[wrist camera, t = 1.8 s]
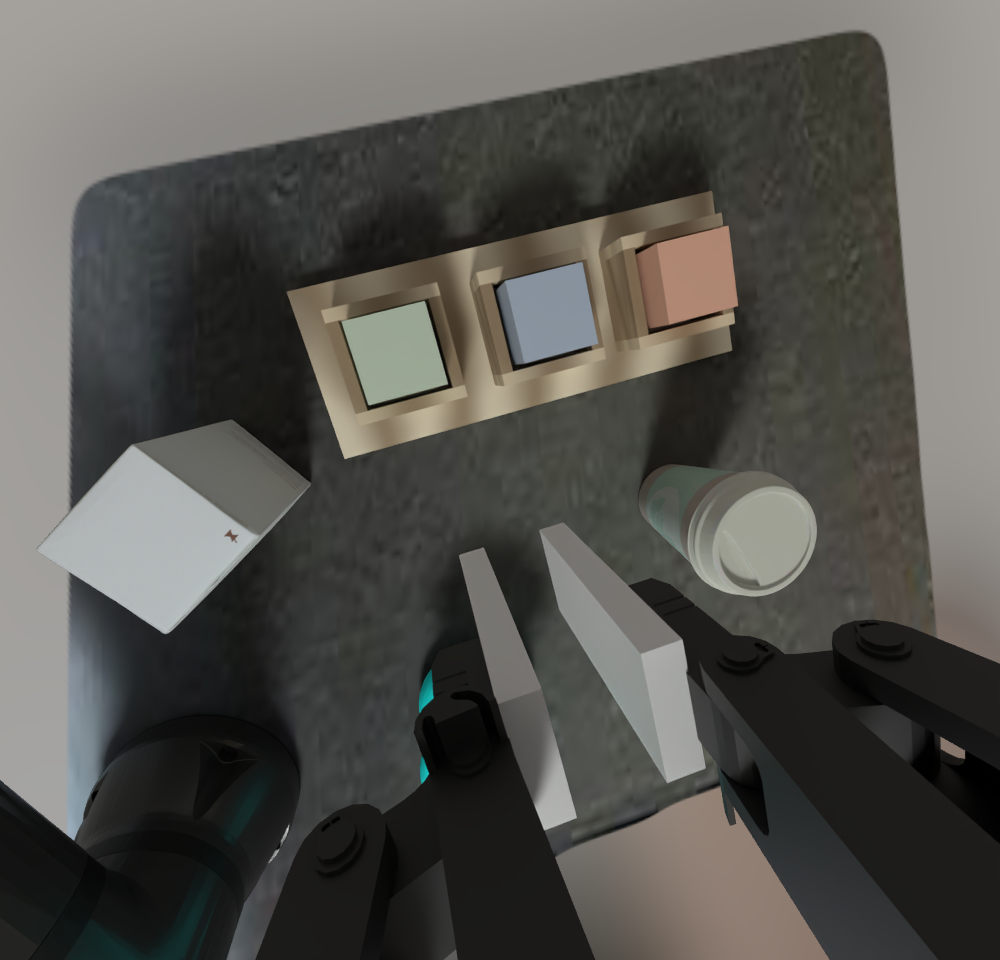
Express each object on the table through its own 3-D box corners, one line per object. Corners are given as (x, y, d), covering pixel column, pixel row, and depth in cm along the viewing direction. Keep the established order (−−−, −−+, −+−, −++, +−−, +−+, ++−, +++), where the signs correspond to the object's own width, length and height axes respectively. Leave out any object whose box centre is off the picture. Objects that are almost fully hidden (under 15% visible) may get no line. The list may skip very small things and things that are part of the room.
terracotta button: (641, 330, 35) (669, 324, 31) (629, 258, 34) (656, 243, 30) (702, 313, 36) (738, 305, 32) (693, 242, 34) (728, 225, 30)
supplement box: (232, 415, 34) (133, 437, 22) (314, 483, 36) (264, 537, 24) (162, 488, 35) (27, 550, 22) (248, 552, 37) (166, 640, 24)
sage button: (373, 402, 33) (368, 405, 29) (350, 328, 32) (341, 321, 28) (443, 383, 33) (447, 384, 30) (423, 309, 32) (424, 300, 28)
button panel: (346, 456, 36) (336, 469, 32) (290, 294, 33) (269, 280, 29) (724, 351, 40) (766, 347, 35) (704, 195, 37) (747, 168, 32)
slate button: (512, 364, 34) (524, 363, 30) (494, 292, 33) (505, 281, 29) (577, 347, 34) (598, 343, 31) (562, 275, 33) (582, 261, 29)
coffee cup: (621, 455, 40) (704, 487, 29) (713, 442, 42) (828, 468, 30) (625, 549, 42) (704, 615, 31) (713, 534, 44) (821, 592, 32)
